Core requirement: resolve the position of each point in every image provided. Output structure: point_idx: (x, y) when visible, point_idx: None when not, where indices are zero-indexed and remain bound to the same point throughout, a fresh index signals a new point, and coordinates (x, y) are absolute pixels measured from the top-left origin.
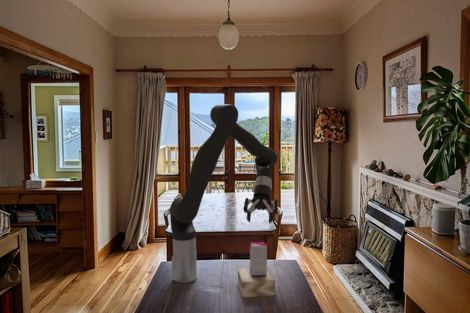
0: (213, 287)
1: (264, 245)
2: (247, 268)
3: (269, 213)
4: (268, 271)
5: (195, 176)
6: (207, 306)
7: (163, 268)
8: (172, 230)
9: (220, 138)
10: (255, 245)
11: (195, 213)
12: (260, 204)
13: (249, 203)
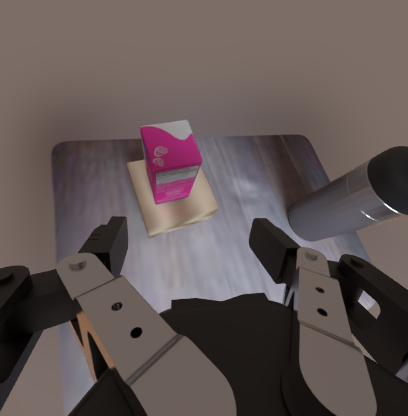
0: (247, 194)
1: (148, 129)
2: (197, 213)
3: (109, 250)
4: (143, 203)
5: None
6: (232, 140)
7: (366, 258)
8: None
9: None
10: (178, 125)
11: None
12: (240, 339)
13: (404, 369)
